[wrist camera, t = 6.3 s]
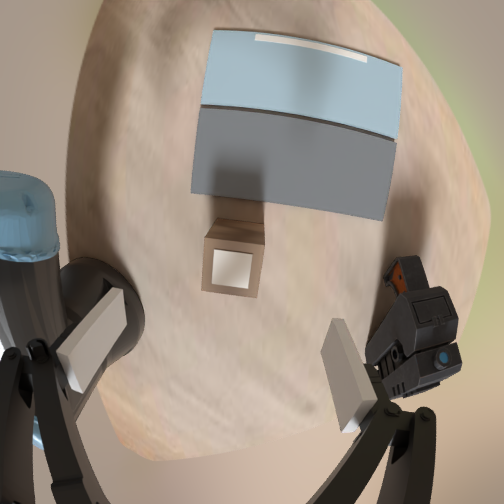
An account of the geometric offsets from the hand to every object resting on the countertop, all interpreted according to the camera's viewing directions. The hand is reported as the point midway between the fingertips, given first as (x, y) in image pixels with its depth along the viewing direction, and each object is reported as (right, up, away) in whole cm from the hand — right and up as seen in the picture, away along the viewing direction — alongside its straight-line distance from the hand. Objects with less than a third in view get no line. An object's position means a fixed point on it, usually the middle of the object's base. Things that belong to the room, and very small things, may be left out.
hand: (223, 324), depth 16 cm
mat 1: (+8, +22, +7) cm, 25 cm away
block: (0, +5, +14) cm, 15 cm away
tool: (+20, -5, +17) cm, 27 cm away
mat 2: (+6, +14, +11) cm, 18 cm away
